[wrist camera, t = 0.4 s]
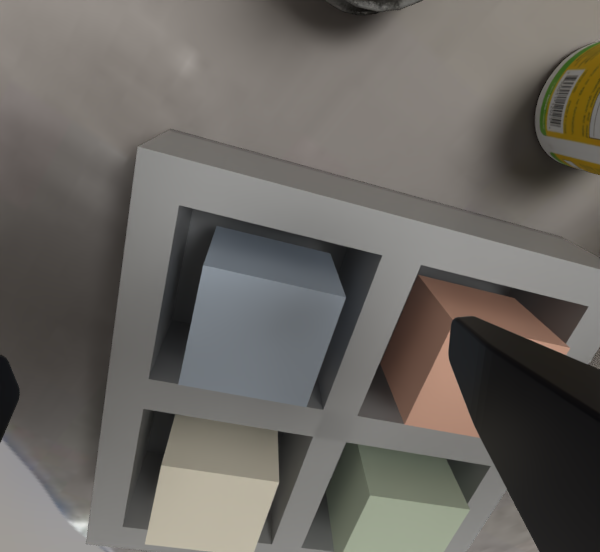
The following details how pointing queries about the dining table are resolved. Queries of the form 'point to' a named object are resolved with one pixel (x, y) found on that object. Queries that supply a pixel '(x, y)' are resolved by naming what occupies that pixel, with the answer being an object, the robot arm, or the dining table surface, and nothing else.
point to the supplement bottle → (572, 111)
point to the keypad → (345, 340)
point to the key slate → (261, 318)
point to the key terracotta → (446, 350)
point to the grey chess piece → (370, 5)
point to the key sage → (393, 501)
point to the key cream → (214, 486)
